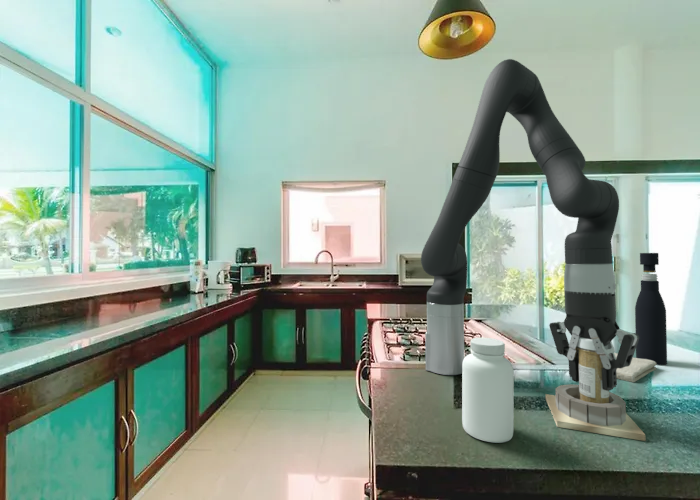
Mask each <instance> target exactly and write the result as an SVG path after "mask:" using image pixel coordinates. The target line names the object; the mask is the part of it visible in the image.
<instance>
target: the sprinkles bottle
mask: <svg viewBox="0 0 700 500" xmlns="http://www.w3.org/2000/svg"><path fill="white" fill-rule="evenodd" d="M578 347H579V348H578V349H579V363H578V364H579V381H578V385H579V391H580V400H583V401H586V402H592V403H599V404H605V403H609V392H610V391H607V390H603V388H602V368H604V367H603V364H602V361H601V359H600V356H599V355H598V354H597V352H596V349H595V346H594V344H593V341H592V339H587V338H580V339H579V343H578ZM604 348H605V349H608V345H607V346H604Z"/></svg>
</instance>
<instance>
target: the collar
mask: <svg viewBox="0 0 700 500" xmlns="http://www.w3.org/2000/svg"><path fill="white" fill-rule="evenodd" d="M545 401H546V403H547V405H548V408H549V411H550V410H551V411H550V412H551V416H552V415H553V416H552V418H553V420H554V423H555V425H556V427H558V428H561V429H562V428H564V429H567V430H568V429H570V430H575V431H581V432H585V433H586V432H588V433H594V434H600V435H606V436H612V437H619V438H624V439H630V440H636V441H643V442H646V434H645V433H644V432H643V430H642V429H641V428H640V427H639V426H638V425H637V423H636V422H635V421H634V420H633V419H632V418H631V417H630V416H629V415H628V414H627V411H626V406H627V404H626V401H625V400H624V399H623V398H622V397H621V396H620V395H618V394H616V393H613V392H611V391H609V403H605V404H599V403H592V402H586V401H583V400H580V391H579V384H561V385H558V386H557V387H555V395H554V394H547V393H545Z"/></svg>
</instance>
